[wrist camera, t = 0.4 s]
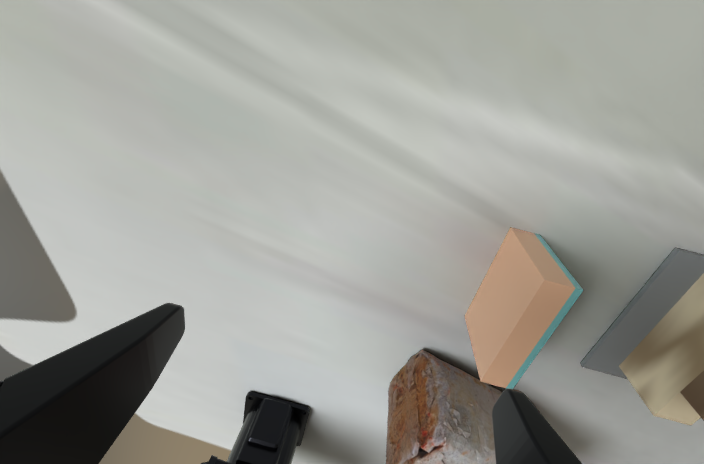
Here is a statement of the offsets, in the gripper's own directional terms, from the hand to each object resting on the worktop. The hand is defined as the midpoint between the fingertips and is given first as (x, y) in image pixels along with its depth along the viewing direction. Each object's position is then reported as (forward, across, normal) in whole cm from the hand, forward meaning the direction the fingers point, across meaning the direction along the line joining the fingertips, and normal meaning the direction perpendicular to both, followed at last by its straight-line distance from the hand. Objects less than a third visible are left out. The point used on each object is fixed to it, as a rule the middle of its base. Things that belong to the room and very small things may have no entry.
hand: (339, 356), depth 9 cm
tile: (+14, -10, +5) cm, 18 cm away
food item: (+15, -12, +18) cm, 26 cm away
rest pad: (+14, -23, +5) cm, 27 cm away
